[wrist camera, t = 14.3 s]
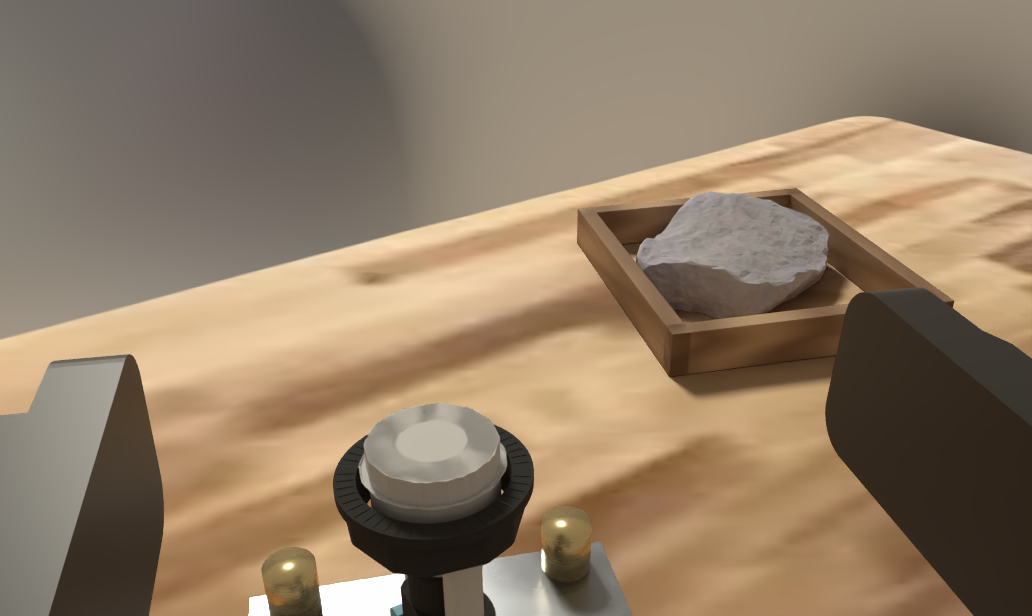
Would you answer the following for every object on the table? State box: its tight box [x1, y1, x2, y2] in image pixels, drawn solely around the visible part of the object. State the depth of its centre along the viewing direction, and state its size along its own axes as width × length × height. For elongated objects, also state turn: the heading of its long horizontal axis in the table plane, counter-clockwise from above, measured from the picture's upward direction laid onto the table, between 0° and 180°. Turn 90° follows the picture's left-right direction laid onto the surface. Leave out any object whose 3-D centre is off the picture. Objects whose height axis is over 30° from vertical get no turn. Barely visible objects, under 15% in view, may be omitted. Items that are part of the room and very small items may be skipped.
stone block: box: [636, 192, 830, 319], centre depth 58 cm, size 12×5×10 cm
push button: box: [333, 403, 534, 616], centre depth 26 cm, size 7×5×10 cm
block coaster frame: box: [577, 188, 954, 377], centre depth 57 cm, size 16×18×2 cm
